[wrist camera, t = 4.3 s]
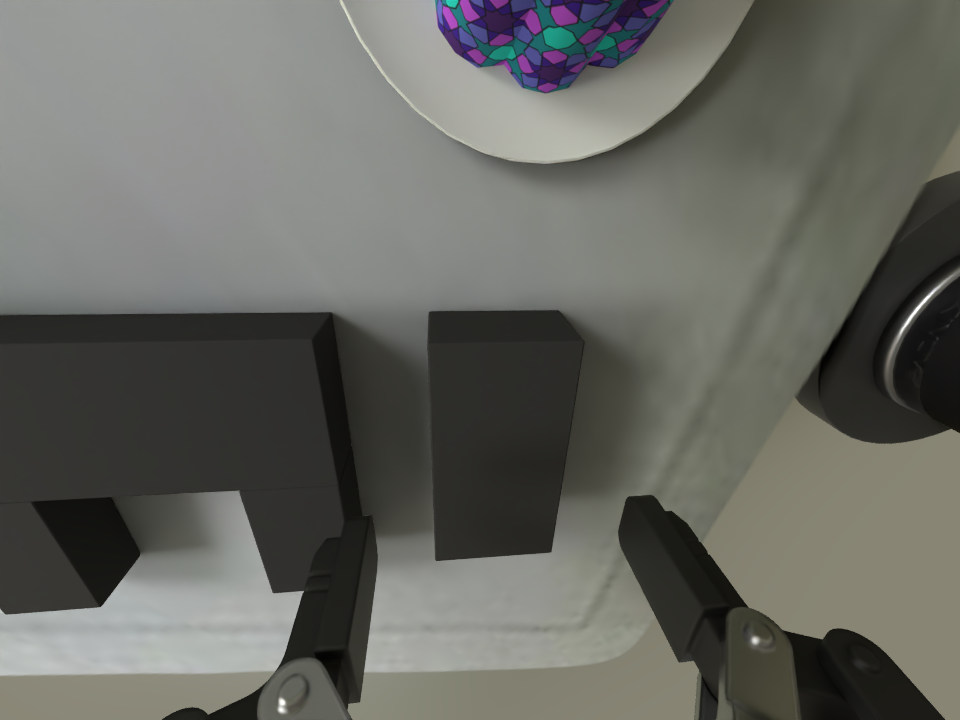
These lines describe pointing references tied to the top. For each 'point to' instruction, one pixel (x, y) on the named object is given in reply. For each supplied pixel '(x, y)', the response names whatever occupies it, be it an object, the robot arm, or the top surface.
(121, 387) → the base pad
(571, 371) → the black rectangular block
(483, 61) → the pudding
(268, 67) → the top surface
